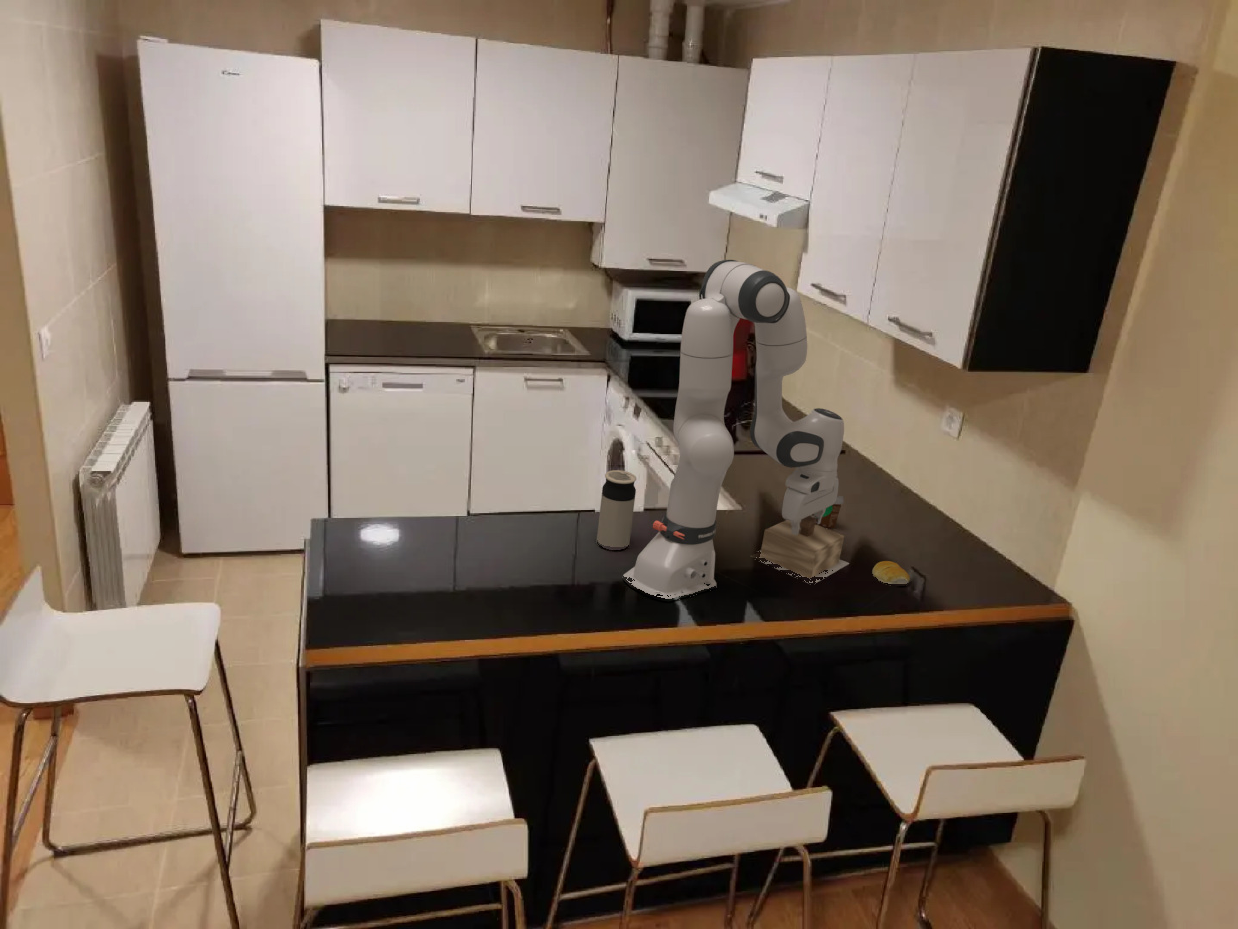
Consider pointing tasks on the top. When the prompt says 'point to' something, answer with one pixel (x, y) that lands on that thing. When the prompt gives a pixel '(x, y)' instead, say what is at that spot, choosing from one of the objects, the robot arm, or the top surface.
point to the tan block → (802, 547)
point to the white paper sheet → (834, 568)
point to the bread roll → (890, 573)
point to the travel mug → (616, 509)
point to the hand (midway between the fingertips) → (805, 528)
